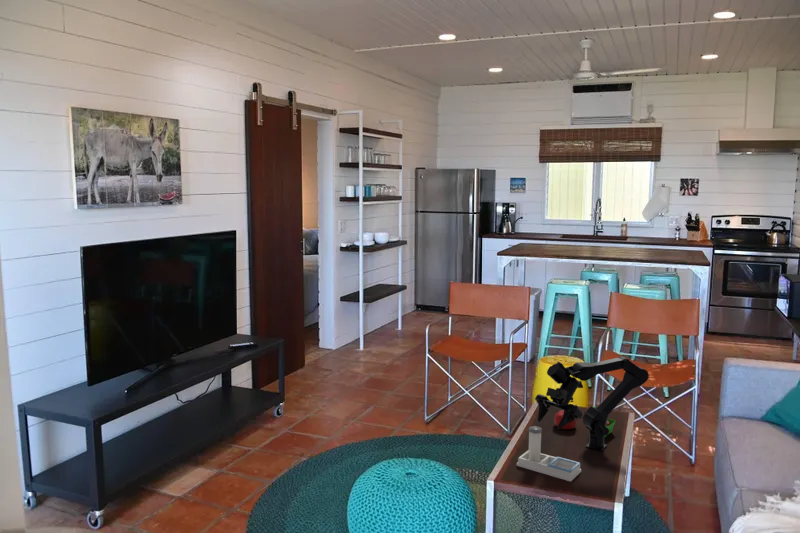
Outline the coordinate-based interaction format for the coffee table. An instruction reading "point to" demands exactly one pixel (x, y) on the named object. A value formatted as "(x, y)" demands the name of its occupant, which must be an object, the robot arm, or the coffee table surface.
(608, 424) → the fruit basket
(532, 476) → the coffee table surface
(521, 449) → the coffee table surface
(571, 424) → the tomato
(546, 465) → the compartment tray
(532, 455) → the plug post
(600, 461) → the coffee table surface
